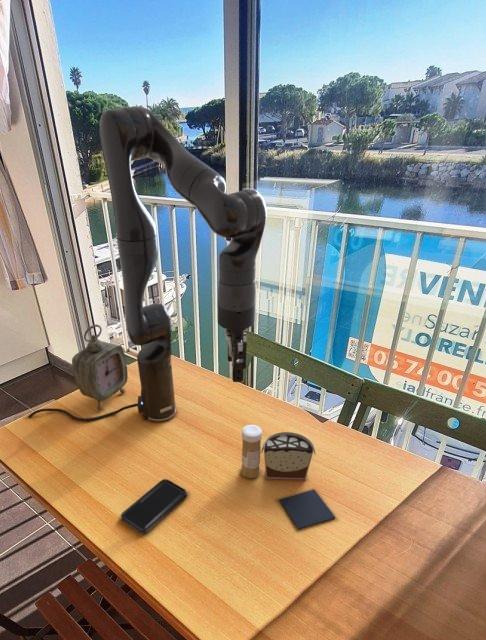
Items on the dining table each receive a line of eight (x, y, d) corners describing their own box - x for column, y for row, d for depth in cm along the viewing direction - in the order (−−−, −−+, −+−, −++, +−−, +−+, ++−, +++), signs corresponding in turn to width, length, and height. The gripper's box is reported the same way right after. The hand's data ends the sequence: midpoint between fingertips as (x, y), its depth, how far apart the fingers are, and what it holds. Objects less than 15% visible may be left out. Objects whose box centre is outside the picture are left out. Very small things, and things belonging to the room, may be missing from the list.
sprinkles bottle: (240, 466, 113) (241, 424, 105) (258, 466, 113) (260, 423, 105) (242, 479, 109) (242, 436, 102) (261, 479, 109) (263, 435, 101)
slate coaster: (298, 529, 96) (298, 528, 96) (278, 500, 103) (279, 499, 103) (335, 518, 98) (335, 517, 98) (313, 490, 105) (314, 489, 105)
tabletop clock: (100, 415, 135) (84, 339, 120) (78, 407, 139) (60, 333, 124) (131, 391, 144) (119, 319, 129) (109, 384, 148) (96, 313, 134)
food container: (308, 462, 113) (313, 430, 107) (311, 479, 108) (316, 447, 102) (259, 461, 114) (260, 430, 109) (260, 478, 110) (261, 446, 104)
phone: (188, 491, 105) (143, 532, 96) (189, 495, 106) (144, 535, 97) (164, 477, 110) (118, 515, 101) (164, 480, 110) (119, 518, 101)
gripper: (214, 289, 96) (215, 355, 106) (221, 317, 84) (221, 389, 94) (249, 286, 96) (247, 353, 106) (261, 315, 84) (257, 387, 94)
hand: (235, 370), depth 100 cm, fingers open, 8 cm apart
